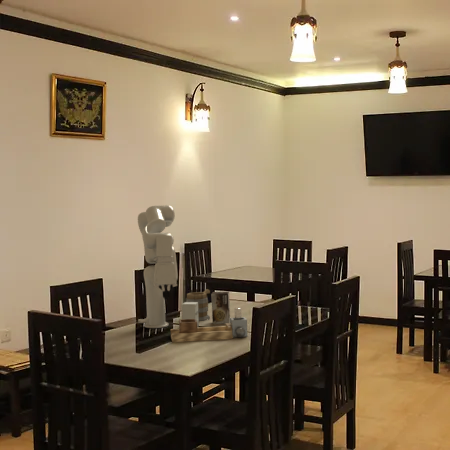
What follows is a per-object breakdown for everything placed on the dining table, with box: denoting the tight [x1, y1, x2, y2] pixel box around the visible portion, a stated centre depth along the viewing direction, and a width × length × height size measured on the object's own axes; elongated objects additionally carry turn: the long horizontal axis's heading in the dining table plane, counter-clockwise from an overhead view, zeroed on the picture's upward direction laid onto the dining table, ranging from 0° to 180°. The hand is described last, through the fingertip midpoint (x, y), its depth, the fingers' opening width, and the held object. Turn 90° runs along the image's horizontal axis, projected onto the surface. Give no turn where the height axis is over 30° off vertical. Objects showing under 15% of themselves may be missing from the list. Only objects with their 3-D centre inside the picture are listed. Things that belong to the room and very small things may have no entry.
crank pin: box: [234, 307, 243, 320], centre depth 330 cm, size 3×3×8 cm
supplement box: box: [180, 301, 200, 327], centre depth 355 cm, size 7×7×13 cm
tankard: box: [185, 288, 211, 322], centre depth 382 cm, size 20×13×15 cm, turn 148°
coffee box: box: [210, 291, 231, 325], centre depth 366 cm, size 9×6×16 cm
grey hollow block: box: [229, 316, 248, 339], centre depth 329 cm, size 7×10×8 cm
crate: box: [178, 318, 199, 333], centre depth 327 cm, size 8×9×7 cm
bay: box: [170, 323, 234, 343], centre depth 328 cm, size 28×13×5 cm, turn 97°
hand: (166, 299), depth 326 cm, fingers closed
